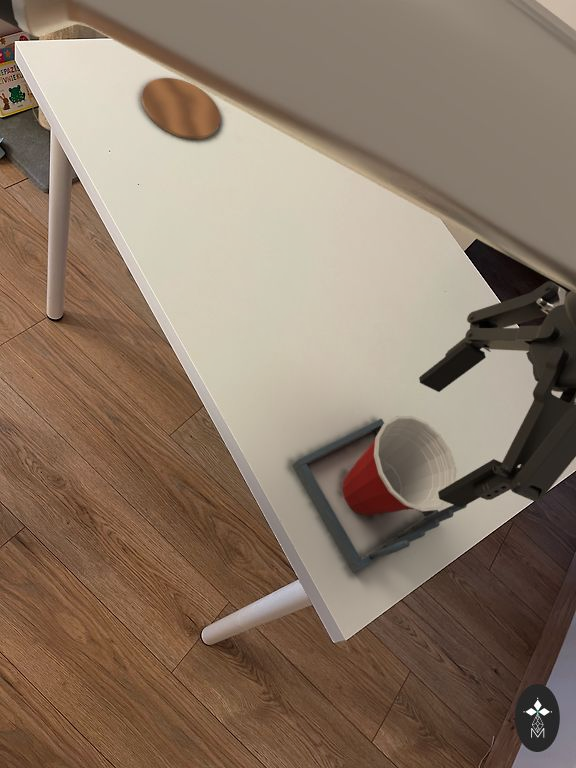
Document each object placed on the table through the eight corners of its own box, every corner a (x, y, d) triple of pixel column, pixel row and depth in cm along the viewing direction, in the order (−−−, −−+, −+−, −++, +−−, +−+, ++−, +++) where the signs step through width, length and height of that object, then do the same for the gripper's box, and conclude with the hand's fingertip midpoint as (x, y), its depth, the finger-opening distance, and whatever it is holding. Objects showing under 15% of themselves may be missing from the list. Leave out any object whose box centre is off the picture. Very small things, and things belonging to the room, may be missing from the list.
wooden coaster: (166, 144, 86) (167, 141, 86) (127, 84, 89) (127, 80, 88) (233, 134, 93) (234, 131, 93) (195, 78, 95) (196, 75, 95)
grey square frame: (291, 464, 71) (325, 436, 64) (374, 423, 79) (413, 394, 71) (352, 572, 68) (395, 556, 60) (432, 518, 76) (479, 498, 68)
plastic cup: (406, 540, 73) (468, 515, 63) (326, 533, 69) (379, 505, 59) (397, 456, 78) (453, 421, 68) (322, 445, 74) (371, 406, 64)
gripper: (746, 459, 38) (491, 570, 52) (614, 227, 54) (446, 358, 68) (679, 419, 35) (427, 548, 49) (560, 186, 51) (396, 332, 65)
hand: (438, 438), depth 58 cm, fingers open, 13 cm apart
